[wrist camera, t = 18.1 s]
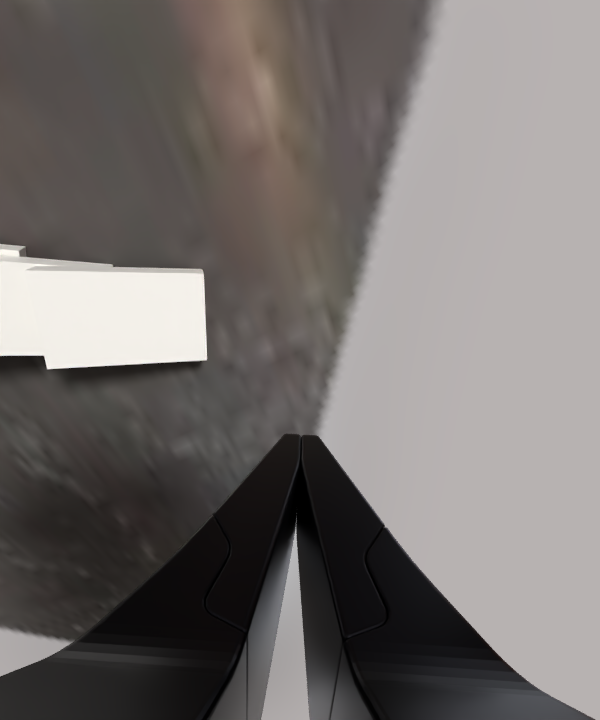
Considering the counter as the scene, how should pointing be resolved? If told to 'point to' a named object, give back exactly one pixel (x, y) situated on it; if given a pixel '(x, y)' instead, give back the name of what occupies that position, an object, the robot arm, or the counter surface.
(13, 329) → the domino
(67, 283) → the domino
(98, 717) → the robot arm
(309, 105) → the counter surface
